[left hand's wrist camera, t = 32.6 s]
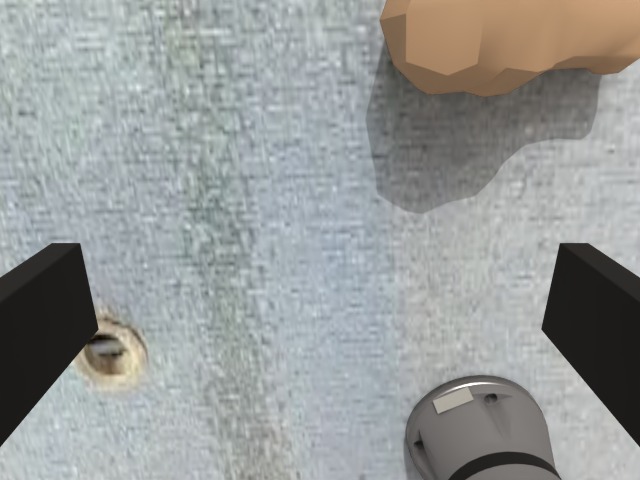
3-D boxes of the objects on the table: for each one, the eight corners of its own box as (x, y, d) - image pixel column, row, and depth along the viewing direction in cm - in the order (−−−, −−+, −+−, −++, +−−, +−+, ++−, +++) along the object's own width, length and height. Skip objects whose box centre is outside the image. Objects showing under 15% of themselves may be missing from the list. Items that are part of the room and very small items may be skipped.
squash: (369, -50, 34) (408, -119, 25) (606, -29, 36) (715, -84, 28) (363, 99, 36) (397, 83, 27) (586, 108, 39) (683, 96, 30)
